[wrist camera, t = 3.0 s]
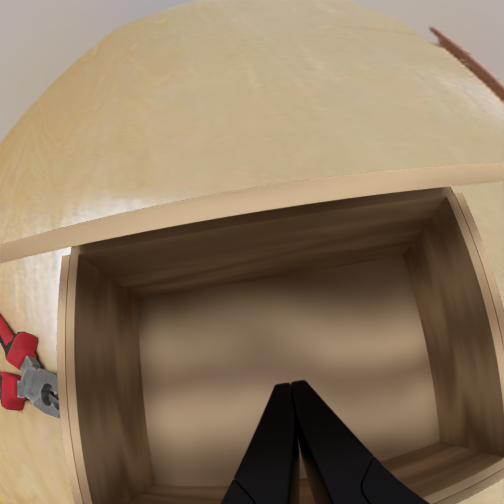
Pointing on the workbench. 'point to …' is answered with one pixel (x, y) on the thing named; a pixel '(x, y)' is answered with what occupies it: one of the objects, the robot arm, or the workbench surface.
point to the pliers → (26, 375)
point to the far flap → (252, 204)
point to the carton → (283, 346)
